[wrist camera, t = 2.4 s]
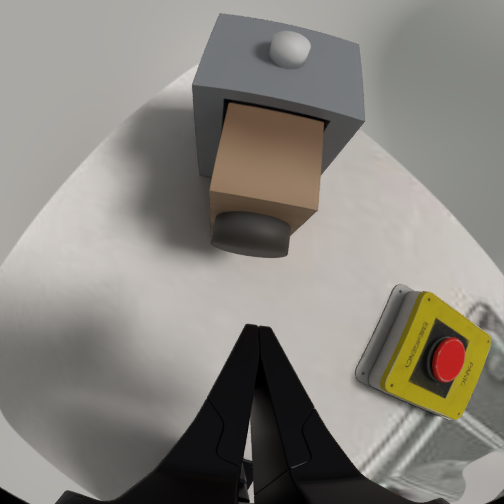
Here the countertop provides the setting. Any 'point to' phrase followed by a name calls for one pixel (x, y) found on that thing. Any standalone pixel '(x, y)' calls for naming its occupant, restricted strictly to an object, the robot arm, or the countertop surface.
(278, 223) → the plunger
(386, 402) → the countertop surface
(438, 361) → the emergency button
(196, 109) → the housing
